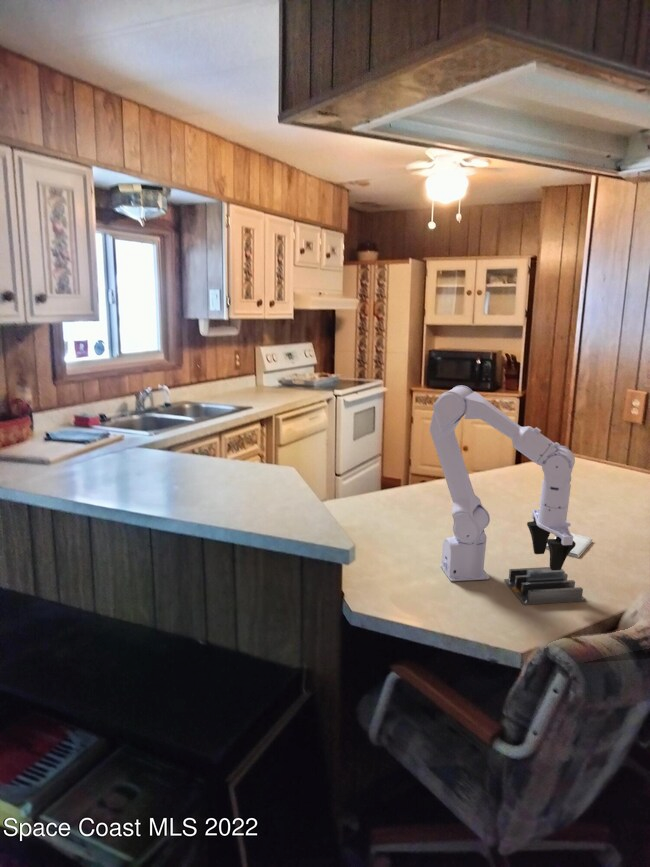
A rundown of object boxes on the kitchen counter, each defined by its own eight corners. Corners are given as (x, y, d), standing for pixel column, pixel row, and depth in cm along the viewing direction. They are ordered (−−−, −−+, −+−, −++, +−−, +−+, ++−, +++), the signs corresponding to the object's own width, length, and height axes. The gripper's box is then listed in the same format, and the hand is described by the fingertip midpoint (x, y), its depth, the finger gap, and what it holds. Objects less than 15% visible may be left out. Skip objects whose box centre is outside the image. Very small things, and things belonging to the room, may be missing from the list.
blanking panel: (558, 586, 137) (561, 568, 136) (562, 589, 135) (564, 571, 134) (525, 588, 136) (527, 569, 135) (528, 591, 134) (530, 573, 133)
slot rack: (524, 604, 130) (525, 592, 129) (504, 581, 140) (505, 569, 139) (585, 601, 132) (587, 588, 131) (561, 578, 142) (563, 566, 141)
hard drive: (578, 554, 151) (592, 538, 161) (545, 545, 156) (561, 529, 166) (577, 560, 152) (591, 543, 161) (544, 551, 157) (560, 535, 166)
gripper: (590, 515, 124) (581, 576, 127) (555, 491, 138) (548, 546, 141) (557, 517, 123) (549, 577, 126) (525, 492, 137) (519, 547, 140)
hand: (547, 561), depth 134 cm, fingers open, 7 cm apart
